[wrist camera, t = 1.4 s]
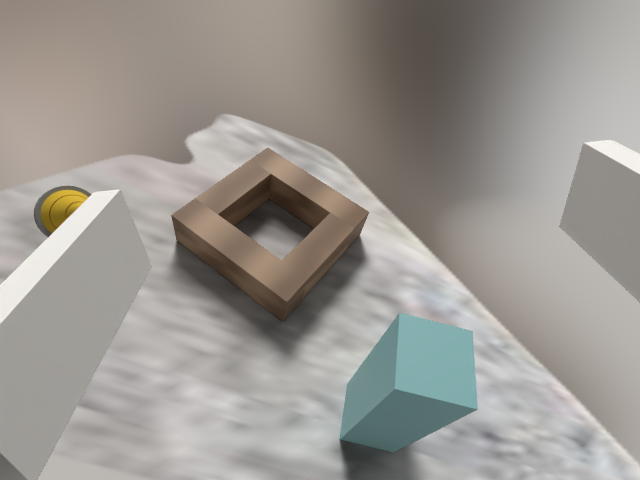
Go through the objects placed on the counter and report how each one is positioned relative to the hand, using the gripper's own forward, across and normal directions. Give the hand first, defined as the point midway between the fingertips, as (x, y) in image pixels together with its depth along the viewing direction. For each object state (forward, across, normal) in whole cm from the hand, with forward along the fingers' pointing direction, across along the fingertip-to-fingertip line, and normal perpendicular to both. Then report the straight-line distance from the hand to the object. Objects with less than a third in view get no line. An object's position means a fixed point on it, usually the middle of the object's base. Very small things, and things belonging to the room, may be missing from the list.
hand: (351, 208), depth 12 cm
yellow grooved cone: (+24, -25, -13) cm, 37 cm away
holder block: (+26, -7, -17) cm, 31 cm away
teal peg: (+9, +1, -25) cm, 27 cm away
